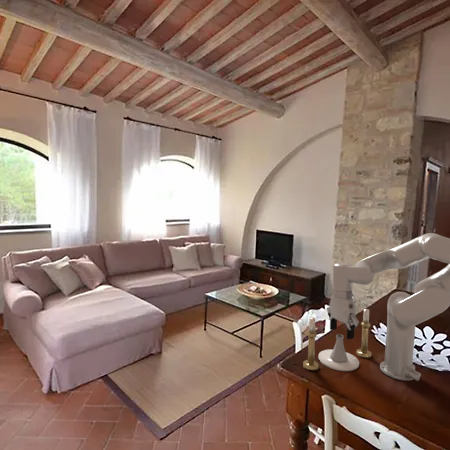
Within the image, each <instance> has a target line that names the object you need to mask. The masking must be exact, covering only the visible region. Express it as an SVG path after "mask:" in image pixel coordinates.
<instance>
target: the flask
mask: <svg viewBox="0 0 450 450" xmlns="http://www.w3.org/2000/svg"><path fill="white" fill-rule="evenodd" d="M335 339H336V341H335V344H334V347H333V351H332V353H331V355H330V358H331V359H332V360H333V361H336V362H339V363H344V362H347V360H348V358H347V355H346V349H345V346H344V339H345V336H344V335H343V334H341V333H339V334H336V335H335Z"/></svg>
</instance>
